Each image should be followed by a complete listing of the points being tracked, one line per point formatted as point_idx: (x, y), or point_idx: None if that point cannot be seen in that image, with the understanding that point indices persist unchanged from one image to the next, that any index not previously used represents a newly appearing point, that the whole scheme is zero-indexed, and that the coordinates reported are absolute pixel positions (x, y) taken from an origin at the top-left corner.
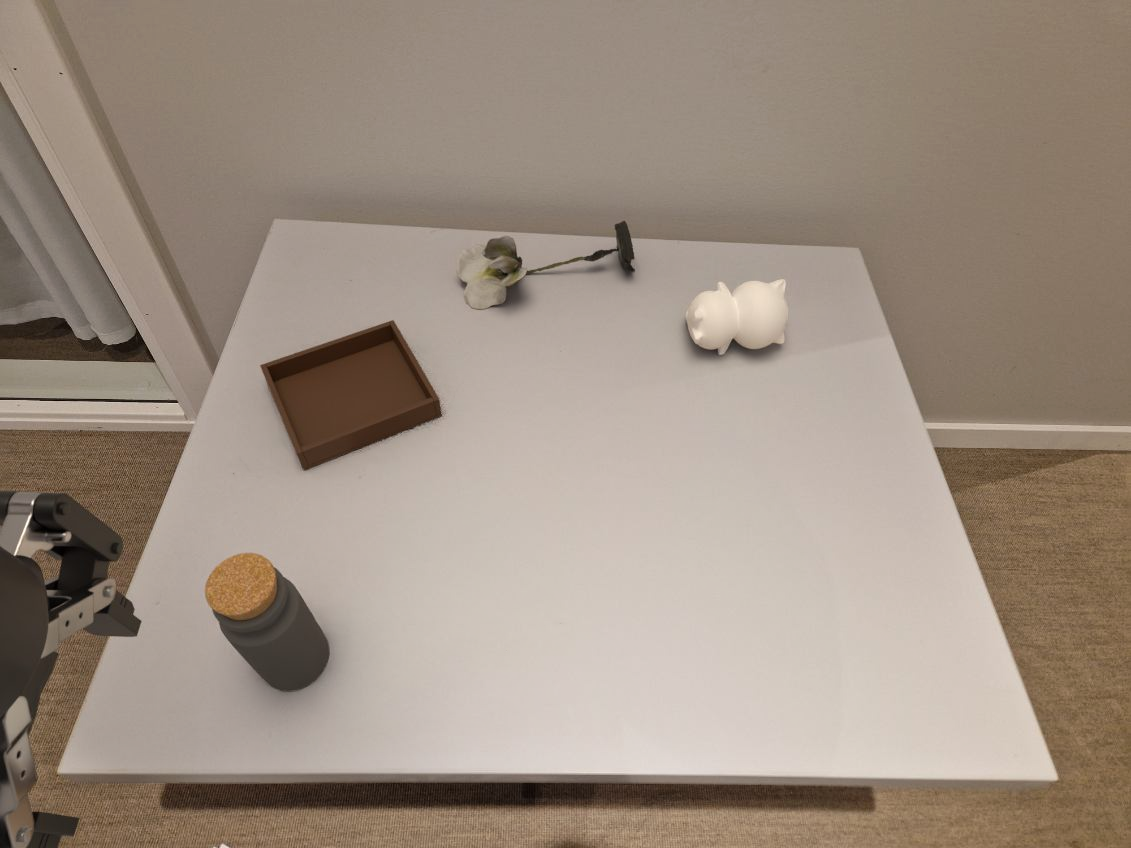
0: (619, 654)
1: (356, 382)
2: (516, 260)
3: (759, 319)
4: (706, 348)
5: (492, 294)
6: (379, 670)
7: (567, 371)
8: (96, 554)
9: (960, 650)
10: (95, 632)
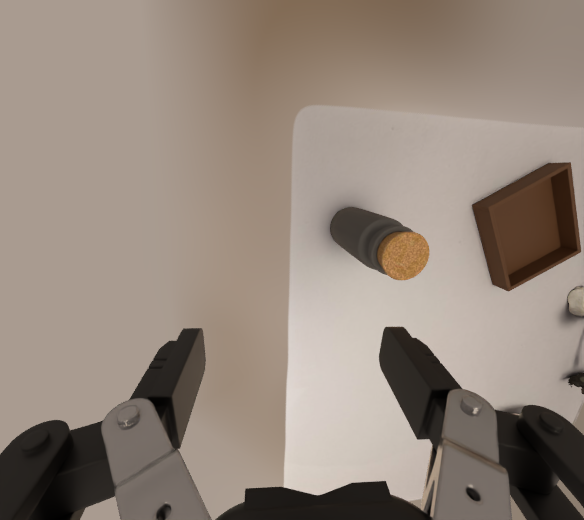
0: (338, 384)
1: (532, 228)
2: None
3: None
4: None
5: (579, 306)
6: (338, 274)
7: (506, 349)
8: (529, 514)
9: None
10: (389, 336)
